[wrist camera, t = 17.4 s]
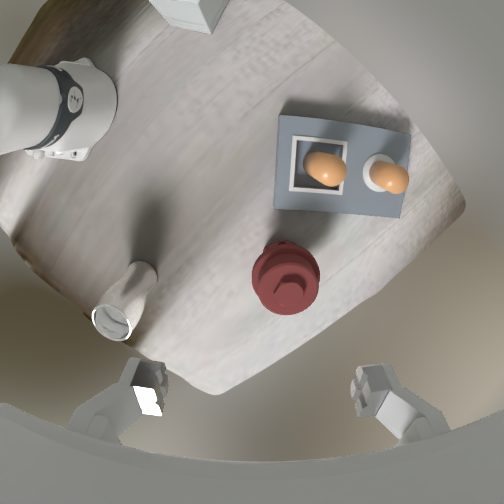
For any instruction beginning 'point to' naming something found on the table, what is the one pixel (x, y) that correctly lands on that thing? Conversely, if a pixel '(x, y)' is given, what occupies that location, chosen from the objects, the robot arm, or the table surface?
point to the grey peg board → (357, 163)
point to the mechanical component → (286, 278)
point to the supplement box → (191, 13)
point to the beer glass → (124, 302)
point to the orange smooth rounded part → (325, 168)
